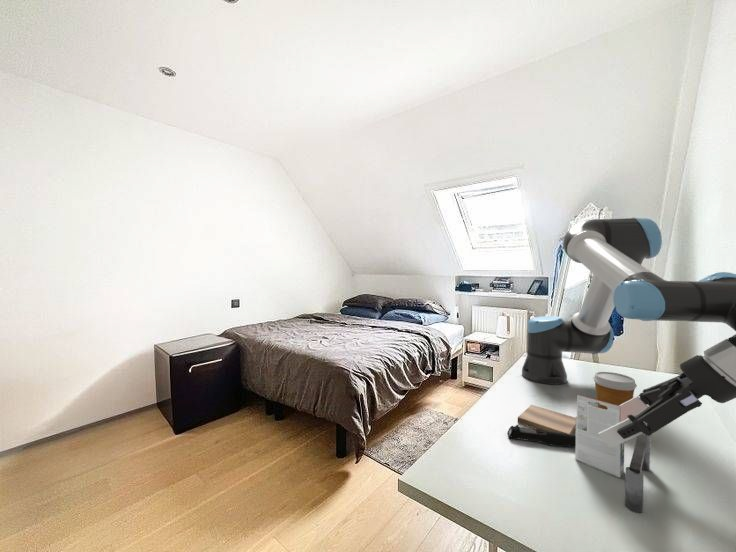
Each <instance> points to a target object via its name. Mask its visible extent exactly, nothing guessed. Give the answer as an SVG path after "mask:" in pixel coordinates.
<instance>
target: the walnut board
mask: <svg viewBox="0 0 736 552" xmlns="http://www.w3.org/2000/svg"><path fill="white" fill-rule="evenodd" d="M517 423H518V424H521V425H524V426H527V427H528V428H529V427H530V428H532V427H533V428H532V429H535V428H536V429H537V430H542V431H550V432H557V433H563V434H569V435H574V433H576V416H572V415H567V414H565V413H561V412H557V411H555V410H551V409H548V408H544V407H540V406H536V405H533V404H531V405H529V406H528V407H527V408H526V409H525V410H524V411H523V412H521V413H520V415H518V417H517Z"/></svg>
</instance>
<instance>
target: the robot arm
mask: <svg viewBox="0 0 736 552" xmlns="http://www.w3.org/2000/svg"><path fill="white" fill-rule="evenodd" d="M659 227H660V226H658V224H657V222H656V221H654V220H653V219H651V218H647V217H646V218H645V217H642V218H641V217H639V218H638V217H631V218H630V217H629V218H628V217H627V218H601V219H600V218H598V219H597V218H593V219H592V218H591V219H589V220H588V219H587V220H584V221H581V222H578V223H577V224H575V225H573V226H572V227H571V228H570V229H568V231H567V232H566V233H565V235H564V237H563V240H562V246H563V247H562V248H563V250H564V252H565V254H566V256H567V257H568V258H570V260H572V261H574V262H575V263H578V264H582V265H583V266H584V267H585V268H587V270H589V271H590V273H592V274H593V276H592V278H591V280H590V283H589V286H588V288H587V291H586V294H585V296H584V300H583V302H582V304H581V307H580V310H579V311H577V312H576V313H574V314H573V315H572V317H571V320H564V319H563V318H562V317H560V316H556V315H553V316H552V315H551V316H550V315H548V316H547V315H546V316H544V315H543V316H535V317H532V318H530V319H529V320H528V322H527V328H526V332H527V342H526V343H527V345H526V346H527V347H526V348H527V349H526V351H527V352H526V353H527V354H526V357H525V360H524V362H523V365H522V368H521V375H522V376H523V377H524V378H525V377H526V378H525V379H527V380H529V379H530V380H529V381H532V382H535V381H536V382H537V383H539V384H546V385H562V384H566V383H567V382H568V374H567V371H566V368H565V365H564V362H563V353H578V354H590V355H591V354H592V355H596V354H605V353H607V352H609V351H610V350H611V349H612V347H613V345H614V341H615V340H614V338H615V333H614V329H613V328H612V326H611V324H610V322H609V320H610V318H611V316H612V313H613V312H614V309H615V311H616V312H617V314H618V315H619V316H621V318H624V319H628V320H629V319H630V320H639V321H643V322H651V321H656V322H657V321H662V322H663V321H664V322H666V321H667V322H668V321H669V322H693V323H694V322H695V323H723V324H726V326H729V327H730V328H731V329H732V330H734V332H736V273H733V272H729V271H728V272H727V271H719V272H718V271H717V272H714V273H713V274H709V275H706V276H703V277H702V278H700V279H699V280H698V281H697V280H696V281H695V280H694V281H691V280H688V281H687V280H686V281H684V280H675V281H674V280H666V279H663V278H662V277H661V276H658V275H657V274H656V273H654V272H653V271H651V270H650V269H648V268H646V267H645V266H643V265H642V264H643V261H644V259H648V260H649V259H652V258H654V257H657V256H658V255H659V254H660V252H661V248H662V244H663V240H662V239H663V238H662V233H661V230H660V228H659ZM679 369H680V370H681V371H682V372H681V374H679V375H677V376H675V377H672V378H670V379H668V380H665V381H662V382H659V383H658V384H655V385H653V386H651V387H648V388H643V390H642V392H640V393H639V394H638V395H637V396H633V398H632V399H631V400H629V401H627V402H625V403H623V404H621V405H619V406H621V409H620V423H618V424H616V425H614V426H612V427H610V428H608V429H606V430H604V431H602V432H599V436H600V437H601V438H602V439H603V440H604V441H605V442H606V443H607V445H608V446H609V447H610V448H612V447H614V446H616V445H619V444H621V443H623V442H624V443H625V442H627V441H630V440H632V439H635V437H636V436H639V435H641V434H643V435H646V436H648V437H650V436H652V435H653V434H654V433H656V432H658V431H659V430H661V429H662V428H664V427H666V426H667V425H668V424H670V423H672V422H674V421H675V420H677V419H678V418H680V417H682V416H683V415H685V414H687V413H688V412H691V411H692V410H694V409H696V408H699V407H701V406H702V405H703V402H701V401H700V400H699V399H700V398H702V397H704V396H707V397H709V398H710V399H711V400H713V401H715V402H717V403H719V404H725V403H728V402H730V401H731V400H732V401H733V400H734V399H736V333H735V334H734V335H732V336H730V337H728V338H725V339H724V340H721V341H720V342H718V343H716V344H714V345H713V346H711V347H708V348H707V349H705V350H703V355H701V354H700V355H698V354H697V355H695V356H692V357H690V358H689V359H687V360H685V361H683V362H682V363H680V364H679Z"/></svg>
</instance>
